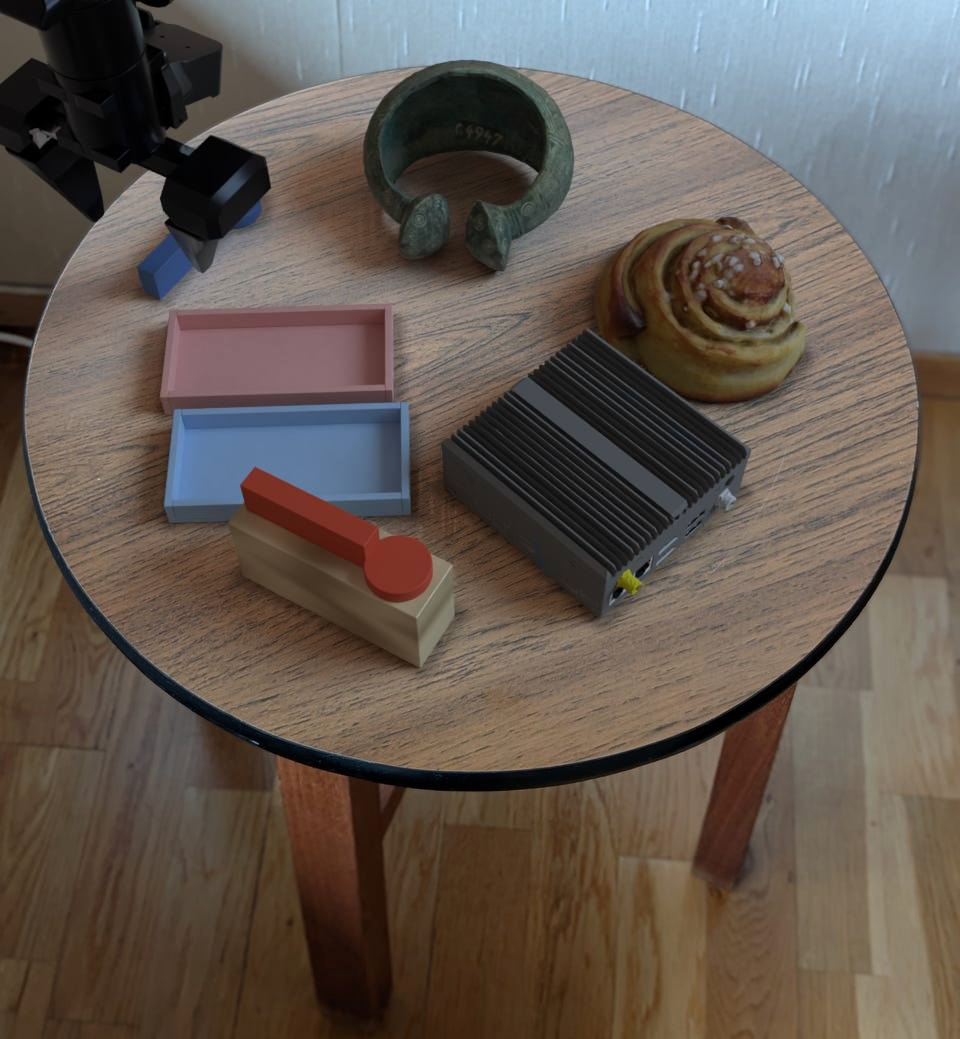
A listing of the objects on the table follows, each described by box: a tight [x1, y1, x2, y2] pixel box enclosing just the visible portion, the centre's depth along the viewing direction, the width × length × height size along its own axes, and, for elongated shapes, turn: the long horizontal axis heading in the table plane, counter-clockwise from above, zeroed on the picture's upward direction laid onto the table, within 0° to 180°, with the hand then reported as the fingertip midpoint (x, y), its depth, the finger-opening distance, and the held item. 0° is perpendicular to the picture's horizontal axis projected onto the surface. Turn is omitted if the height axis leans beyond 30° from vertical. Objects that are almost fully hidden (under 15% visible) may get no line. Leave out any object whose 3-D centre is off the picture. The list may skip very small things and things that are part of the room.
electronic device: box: [440, 327, 753, 619], centre depth 82 cm, size 13×15×5 cm
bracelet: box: [362, 59, 575, 272], centre depth 94 cm, size 15×15×10 cm
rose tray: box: [159, 303, 395, 416], centre depth 89 cm, size 15×8×2 cm, turn 92°
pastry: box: [592, 216, 807, 404], centre depth 89 cm, size 13×15×8 cm
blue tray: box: [163, 401, 412, 524], centre depth 84 cm, size 15×8×2 cm, turn 92°
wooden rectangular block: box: [227, 503, 455, 668], centre depth 78 cm, size 13×4×6 cm, turn 60°
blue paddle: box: [136, 199, 262, 301], centre depth 95 cm, size 12×4×2 cm, turn 149°
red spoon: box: [240, 467, 433, 602], centre depth 74 cm, size 12×4×2 cm, turn 60°
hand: (151, 242), depth 90 cm, fingers open, 9 cm apart
